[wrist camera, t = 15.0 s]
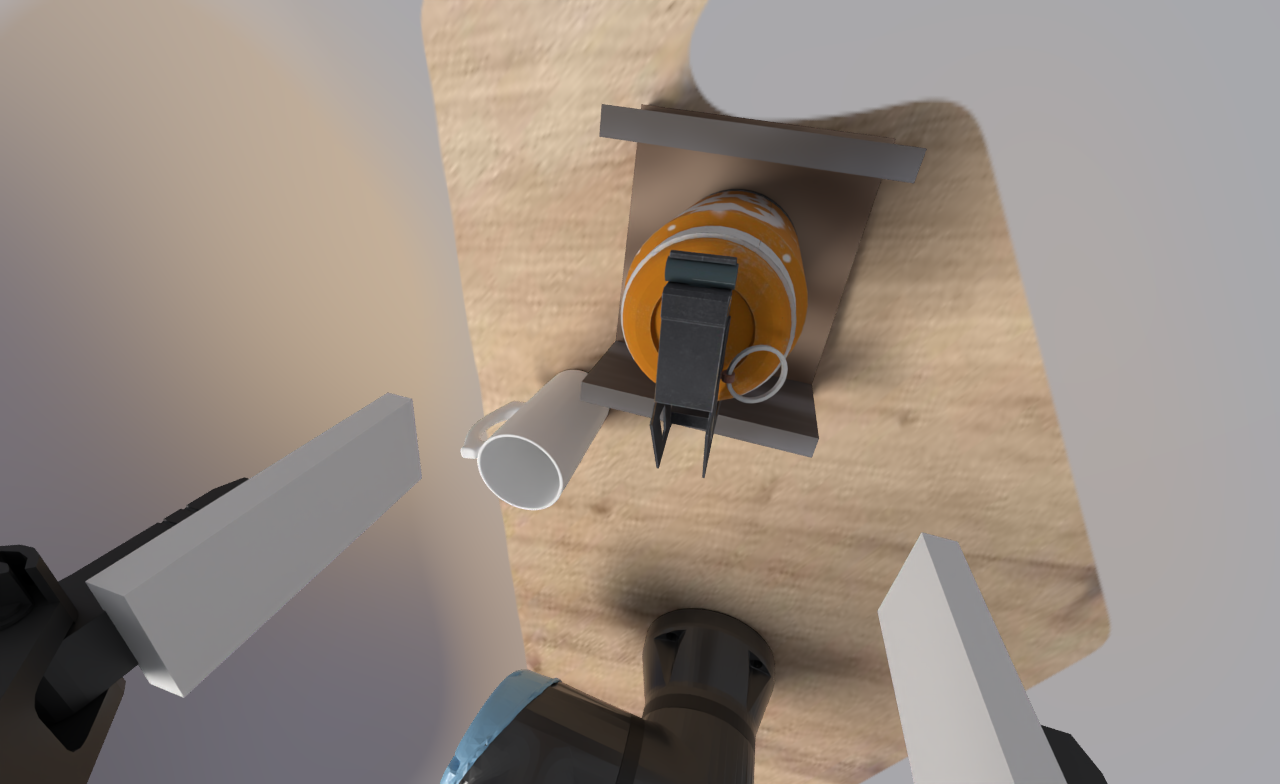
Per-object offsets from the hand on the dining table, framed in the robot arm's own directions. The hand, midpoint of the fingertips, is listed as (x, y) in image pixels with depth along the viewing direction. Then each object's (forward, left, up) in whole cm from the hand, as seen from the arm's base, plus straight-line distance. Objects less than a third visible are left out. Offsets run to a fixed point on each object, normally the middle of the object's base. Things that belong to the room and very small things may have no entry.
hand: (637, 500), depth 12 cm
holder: (0, 0, -28) cm, 28 cm away
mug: (-15, +13, -28) cm, 34 cm away
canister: (0, 0, -26) cm, 26 cm away
